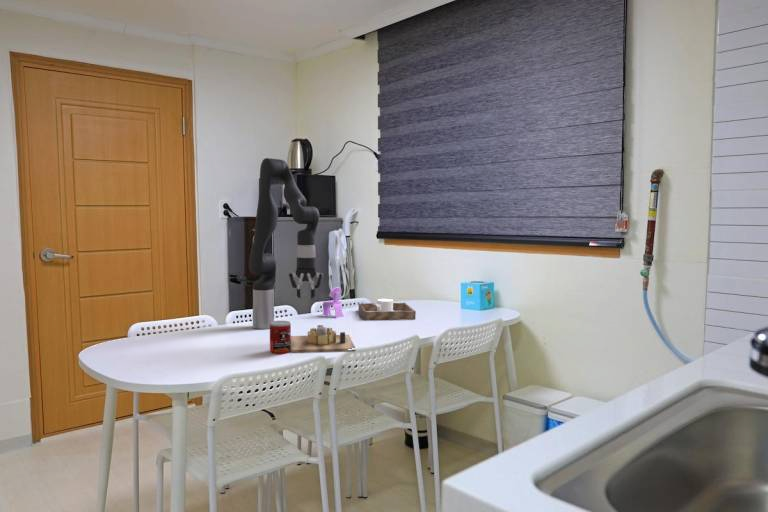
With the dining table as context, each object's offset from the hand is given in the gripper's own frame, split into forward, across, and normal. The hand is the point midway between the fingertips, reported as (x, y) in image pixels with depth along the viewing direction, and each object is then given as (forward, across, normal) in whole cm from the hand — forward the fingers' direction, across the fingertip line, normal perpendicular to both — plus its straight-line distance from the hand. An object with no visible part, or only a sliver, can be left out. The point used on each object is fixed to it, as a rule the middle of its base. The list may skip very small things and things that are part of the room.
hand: (306, 298), depth 234 cm
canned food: (+18, -7, -20) cm, 27 cm away
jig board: (+17, +7, -7) cm, 20 cm away
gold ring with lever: (+16, +7, -4) cm, 18 cm away
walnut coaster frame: (+17, +32, +60) cm, 70 cm away
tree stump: (+18, +32, +59) cm, 69 cm away
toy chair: (+18, +6, +54) cm, 57 cm away
